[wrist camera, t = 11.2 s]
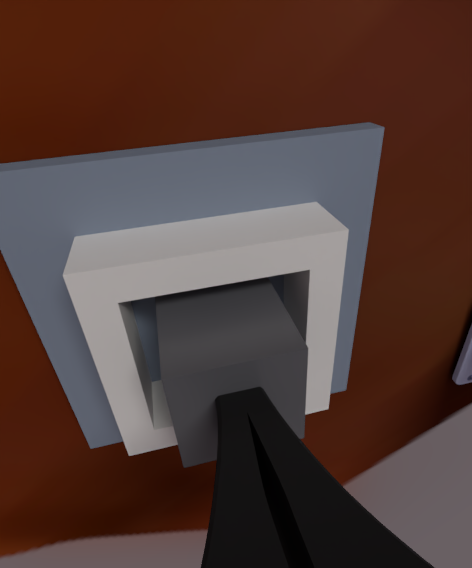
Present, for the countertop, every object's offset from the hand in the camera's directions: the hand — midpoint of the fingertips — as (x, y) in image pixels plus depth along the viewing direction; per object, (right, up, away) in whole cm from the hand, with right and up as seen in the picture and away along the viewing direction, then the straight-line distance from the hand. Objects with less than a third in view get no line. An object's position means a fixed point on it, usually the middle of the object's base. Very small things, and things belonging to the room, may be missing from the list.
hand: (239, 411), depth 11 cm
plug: (-1, +3, +4) cm, 5 cm away
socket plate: (-1, +3, +5) cm, 6 cm away
